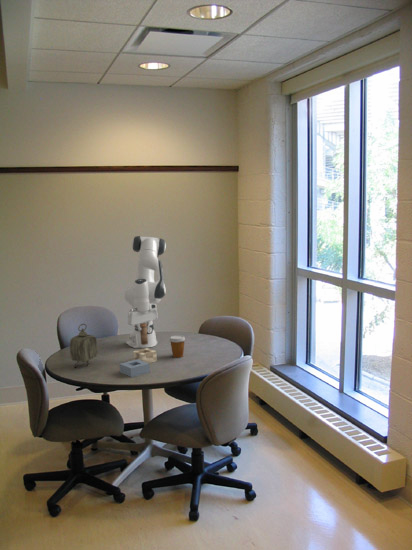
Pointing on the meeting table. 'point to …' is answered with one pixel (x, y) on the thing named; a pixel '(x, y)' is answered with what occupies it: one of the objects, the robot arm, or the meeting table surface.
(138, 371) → the socket
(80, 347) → the tabletop clock
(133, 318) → the robot arm
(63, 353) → the meeting table surface
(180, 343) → the disposable coffee cup
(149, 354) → the mount
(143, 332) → the pin
